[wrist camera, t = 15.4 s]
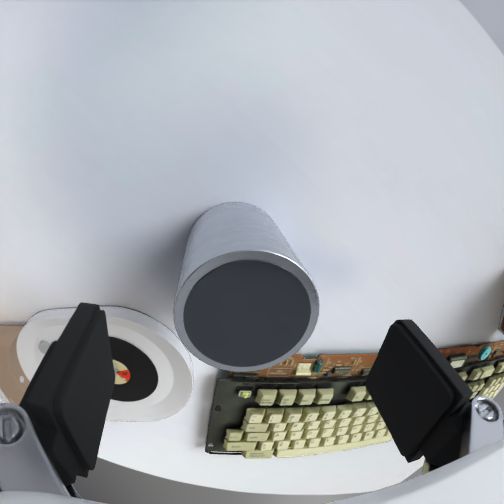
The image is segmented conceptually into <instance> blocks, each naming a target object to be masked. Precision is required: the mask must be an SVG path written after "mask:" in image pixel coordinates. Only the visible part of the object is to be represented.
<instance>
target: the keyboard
mask: <svg viewBox="0 0 504 504" xmlns="http://www.w3.org/2000/svg"><path fill="white" fill-rule="evenodd" d="M438 350H439V351H440V352H441V354H442V355H443V356H444V357H445V358H446V359H447V361H448V362H449V363H450V364H451V365H452V367H453V368H454V369H455V370H456V371H457V373H458V374H459V375H460V376H461V378H462V379H463V380H464V381H465V382H466V384H467V385H468V386H469V387H470V389H471V390H472V391H473V395H472V396H471V397H470V399H469V400H468V401H469V402H470V403H471V402H472V401H473V399H474V398H475V397H477V396H486V397H489V398H491V399H493V396H496V394H497V393H498V391H499V388H501V387H502V386H503V384H504V341H500V342H494V343H487V344H481V345H480V346H477V347H475V345H473V346H465V347H456V348H446V349H438ZM377 355H378V354H345V355H336V354H333V355H319V356H318V358H317V359H303V355H302V354H294V355H292V356H291V357H289V358H288V359H286V360H285V361H283V362H281V363H279V364H277V365H274V366H272V367H269V368H266V369H262V370H257V371H249V372H235V371H230V373H229V376H228V379H219V378H218V379H217V384H216V389H215V394H214V400H213V406H212V413H211V417H210V422H209V429H208V436H207V442H206V447H205V452H206V451H207V453H209V454H227V455H242V456H244V457H245V458H271V457H272V455H274V456H276V457H277V458H290V457H298V456H306V455H317V454H321V453H329V452H336V451H342V450H349V449H355V448H361V447H365V446H369V445H374V444H378V443H384V442H389V441H391V439H392V436H391V434H390V432H389V430H388V428H387V426H386V424H385V422H384V421H383V419H382V417H381V415H380V413H379V411H378V409H377V407H376V405H375V404H374V402H373V400H372V398H371V396H370V394H369V392H368V391H367V389H366V385H365V381H366V378H367V376H368V374H369V372H370V370H371V368H372V366H373V363H374V361H375V359H376V357H377ZM217 405H220V408H221V411H215V408H216V406H217ZM209 443H213V445H214V446H213V447H208V445H209ZM208 451H209V452H208ZM211 451H217V452H242V453H217V452H211ZM274 451H275V452H274Z"/></svg>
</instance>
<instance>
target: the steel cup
mask: <svg viewBox="0 0 504 504" xmlns="http://www.w3.org/2000/svg"><path fill="white" fill-rule="evenodd" d="M173 313H174V323H175V328H176V331H177V333H178V336H179V338H180V339H181V341H182V343H183V344H184V345H185V347H186V348H187V349H188V350H189V351H190V352H191V353H192V354H193V355H194V356H195V357H197V358H198V359H199V360H201V361H203V362H204V363H206V364H208V365H211V366H213V367H216V368H219V369H222V370H228V371H235V372H249V371H257V370H262V369H266V368H269V367H272V366H274V365H277V364H279V363H281V362H283V361H285V360H286V359H288V358H289V357H291V356H292V355H294V354H295V353H296V352H297V351H298V350H299V349H301V348H302V346H303V345H304V344H305V343H306V342H307V340H308V339H309V338H310V336H311V334H312V332H313V331H314V329H315V326H316V323H317V320H318V315H319V297H318V293H317V289H316V287H315V284H314V282H313V281H312V279H311V277H310V276H309V274H308V273H307V271H306V270H305V268H304V267H303V265H302V263H301V262H300V260H299V259H298V257H297V256H296V254H295V253H294V251H293V250H292V248H291V247H290V245H289V244H288V242H287V241H286V239H285V238H284V236H283V235H282V233H281V232H280V230H279V229H278V227H277V226H276V224H275V223H274V221H273V220H272V219H271V217H270V216H269V215H268V214H266V213H265V212H264V211H263V210H261V209H260V208H258V207H255V206H253V205H250V204H247V203H241V202H231V203H224V204H221V205H218V206H215V207H213V208H211V209H209V210H208V211H207V212H205V213H204V214H203V215H202V216H201V217H200V218H199V219H198V220H197V221H196V223H195V224H194V226H193V227H192V230H191V232H190V235H189V238H188V242H187V247H186V251H185V256H184V260H183V265H182V269H181V274H180V279H179V284H178V288H177V293H176V298H175V303H174V312H173Z"/></svg>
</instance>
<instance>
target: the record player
mask: <svg viewBox="0 0 504 504" xmlns="http://www.w3.org/2000/svg"><path fill="white" fill-rule="evenodd" d="M76 309H77V308H65V309H53V310H45V311H41V312H39V313H37V314H35V315H34V316H32V317H31V318H30V319H29V320H28V322H27V323H26V324H25V325H0V396H1V397H2V399H3V400H4V402H5V403H13V404H16V405H18V406H19V404H20V402H21V400H22V398H23V396H24V394H25V392H26V390H27V388H28V386H29V384H30V382H31V380H32V378H33V376H34V374H35V372H36V370H37V368H38V366H39V364H40V363H41V361H42V359H43V357H44V355H45V354H46V352H47V350H48V348H49V346H50V345H51V344H52V342H54V341H58V339H59V337H60V336H61V334H62V332H63V330H64V329H65V327H66V325H67V324H68V322H69V320H70V318H71V317H72V315H73V314H74V312H75V310H76ZM100 310H104V311H105V313H106V320H107V328H108V335H109V342H110V348H111V354H112V360H113V365H114V371H115V385H114V389H113V392H112V396H111V400H110V404H109V407H108V411H107V415H106V419H105V421H126V422H144V421H156V420H161V419H164V418H167V417H170V416H172V415H174V414H175V413H177V412H178V411H180V410H181V409H182V408H183V407H184V406H185V405H186V403H187V402H188V400H189V399H190V396H191V393H192V389H193V366H192V362H191V359H190V356H189V354H188V352H187V350H186V348H185V347H184V345H183V344H182V343H181V341H180V340H179V339H178V338H177V337H176V336H175V335H174V334H173V333H172V332H171V331H170V330H169V329H168V328H166V327H165V326H164V325H162V324H161V323H159V322H158V321H156V320H154V319H153V318H151V317H149V316H147V315H145V314H142V313H140V312H137V311H134V310H131V309H127V308H122V307H114V306H104V307H100Z"/></svg>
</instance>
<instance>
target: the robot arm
mask: <svg viewBox="0 0 504 504" xmlns="http://www.w3.org/2000/svg"><path fill="white" fill-rule="evenodd" d="M114 385H115V371H114V365H113V360H112V354H111V348H110V342H109V335H108V328H107V320H106V313H105V311H104V310H100V307H99V305H97V304H89V303H80V304H79V305H78V307H77V309H76V310H75V312H74V314H73V315H72V317H71V318H70V320H69V322H68V324H67V325H66V327H65V329H64V330H63V332H62V334H61V336H60V337H59V339H58V341H54V342H52V344H51V345H50V346H49V348H48V350H47V352H46V354H45V355H44V357H43V359H42V361H41V363H40V364H39V366H38V368H37V370H36V372H35V374H34V376H33V378H32V380H31V382H30V384H29V386H28V388H27V390H26V392H25V394H24V396H23V398H22V400H21V402H20V404H19V406H18V405H16V404H13V403H1V404H0V504H106V503H100V502H94V501H89V500H84V499H81V497H80V495H79V494H78V492H77V491H76V489H75V487H74V486H73V483H75V480H76V475H78V476H82V477H86V478H87V476H88V471H89V470H93V469H94V468H95V464H96V459H97V455H98V450H99V445H100V441H101V436H102V432H103V428H104V424H105V419H106V415H107V411H108V407H109V404H110V400H111V396H112V392H113V389H114ZM365 385H366V389H367V391H368V392H369V394H370V396H371V398H372V400H373V402H374V404H375V405H376V407H377V409H378V411H379V413H380V415H381V417H382V419H383V421H384V422H385V424H386V426H387V428H388V430H389V432H390V434H391V436H392V438H393V440H394V442H395V444H396V445H397V447H398V449H399V451H400V453H401V455H402V456H405V458H406V460H407V462H408V463H410V462H412V461H415V460H418V459H420V458H421V457H422V456H423V455H424V457H425V460H424V465H423V469H422V473H421V475H420V476H418V477H416V478H412V479H410V480H407V481H404V482H401V483H398V484H395V485H392V486H389V487H386V488H383V489H380V490H376V491H373V492H370V493H366V494H363V495H359V496H355V497H351V498H347V499H343V500H338V501H333V502H328V503H323V504H504V420H503V414H502V410H501V408H500V406H499V405H498V404H497V403H496V402H495V401H494V400H492V399H491V398H489V397H486V396H477V397H475V398H474V399H473V401H472V402H471V403H470V402H469V401H468V400H469V399H470V397H471V396H472V395H473V391H472V390H471V389H470V387H469V386H468V385H467V384H466V382H465V381H464V380H463V379H462V378H461V376H460V375H459V374H458V373H457V371H456V370H455V369H454V368H453V367H452V365H451V364H450V363H449V362H448V361H447V359H446V358H445V357H444V356H443V355H442V354H441V352H440V351H439V350H438V349H437V348H436V347H435V345H434V344H433V343H432V342H431V341H430V340H429V338H428V337H427V336H426V335H425V334H424V333H423V332H422V330H421V329H420V328H419V327H418V326H417V325H416V324H415V323H414V322H413V321H412V320H409V319H408V320H396V321H395V322H394V324H392V325H391V326H390V328H389V330H388V333H387V335H386V337H385V340H384V342H383V344H382V346H381V349H380V351H379V353H378V355H377V357H376V359H375V361H374V363H373V366H372V368H371V370H370V372H369V374H368V376H367V378H366V381H365Z"/></svg>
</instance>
